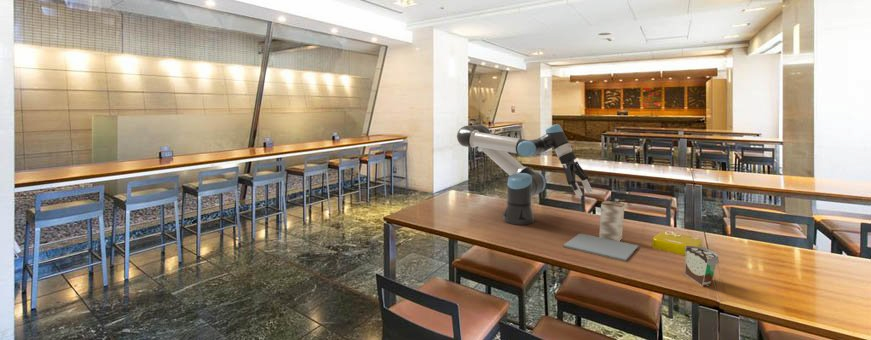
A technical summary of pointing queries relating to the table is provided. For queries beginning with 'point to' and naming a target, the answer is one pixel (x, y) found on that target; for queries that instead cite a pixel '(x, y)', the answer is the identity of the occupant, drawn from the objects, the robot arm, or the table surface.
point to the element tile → (675, 242)
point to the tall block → (611, 220)
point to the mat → (602, 246)
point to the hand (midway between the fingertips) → (585, 194)
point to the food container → (700, 264)
